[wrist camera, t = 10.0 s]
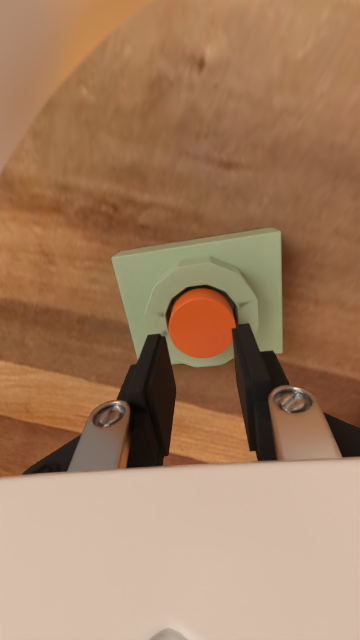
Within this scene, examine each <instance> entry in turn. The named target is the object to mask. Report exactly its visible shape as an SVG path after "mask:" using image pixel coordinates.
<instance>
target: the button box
mask: <svg viewBox="0 0 360 640" xmlns="http://www.w3.org/2000/svg"><path fill="white" fill-rule="evenodd" d="M111 259H112V263H113V267H114V271H115V274H116V278H117V282H118V286H119V290H120V293H121V297H122V301H123V305H124V309H125V313H126V316H127V320H128V324H129V328H130V332H131V336H132V339H133V343H134V347H135V351H136V355H137V358H138V359H139V356H140V354H141V351H142V348H143V346H144V343H145V340H146V338H147V335H151V334H159V333H160V334H161V336H165V337H166V341H167V346H168V350H169V355H170V360H171V364H181V363H183V364H186V365H189V366H192V367H195V368H196V367H207V366H217V365H222V364H225V363H226V362H228V361H229V360H231V359H233V358H234V349H233V341H232V343H231V344H230V346H229V347H228V348H227V349H226V350H225V351H223V352H222V353H220V354H218V355H216V356H214V357H210V358H194V357H191V356H188V355H186V354H184V353H182V352H181V351H180V350H179V349H177V348H176V346H175V345H174V344H173V342H172V341H171V338H170V335H169V321H170V316H171V312H172V309H173V306H174V304H175V302H176V301H177V299H178V298H179V297H180V296H181V295H183V294H184V293H186V292H188V291H190V290H193V289H197V288H207V289H211V290H214V291H216V292H218V293H220V294H221V295H223V296H224V297H225V298H226V299H227V301H228V302H229V304H230V306H231V309H232V312H233V316H234V319H235V324H236V325H237V324H246V323H249V324H250V326H251V329H252V332H253V334H254V337H255V339H256V342H257V345H258V347H259V350H260V352H261V351H271V350H273V351H274V353H275V354H280V353H283V329H282V253H281V231H279V230H277V229H274V228H272V227H270V228H263V229H257V230H251V231H244V232H238V233H232V234H225V235H219V236H213V237H206V238H200V239H194V240H187V241H181V242H175V243H168V244H162V245H155V246H149V247H143V248H136V249H130V250H124V251H120V252H119V253H117V254H116V255H115V256H113V257H112V258H111Z"/></svg>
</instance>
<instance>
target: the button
mask: <svg viewBox="0 0 360 640" xmlns="http://www.w3.org/2000/svg"><path fill="white" fill-rule="evenodd" d="M232 328H236V324H235V319H234V316H233V312H232V309H231V306H230V304H229V302H228V301H227V299H226V298H225V297H224V296H223V295H221V294H220V293H218V292H216V291H214V290H211V289H207V288H197V289H193V290H190V291H188V292H186V293H184V294H183V295H181V296H180V297H179V298H178V299H177V301H176V302H175V304H174V306H173V309H172V312H171V316H170V321H169V335H170V338H171V341H172V342H173V344H174V345H175V346H176V348H177V349H179V350H180V351H181V352H182V353H184V354H186V355H188V356H191V357H194V358H210V357H214V356H216V355H218V354H220V353H222V352H223V351H225V350H226V349H227V348H228V347H229V346H230V344H231V343H232V341H233V339H232Z"/></svg>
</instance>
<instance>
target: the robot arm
mask: <svg viewBox="0 0 360 640" xmlns="http://www.w3.org/2000/svg"><path fill="white" fill-rule="evenodd" d="M232 339H233V349H234V359H235V370H236V380H237V387H238V392H239V398H240V403H241V408H242V413H243V418H244V423H245V428H246V434H247V439H248V444H249V449H250V451H256V455H257V459H258V461H253V462H232V463H213V464H193V465H174V466H162V465H163V458H164V456H168V454H169V447H170V439H171V431H172V422H173V414H174V406H175V398H176V385H175V380H174V375H173V370H172V365H171V360H170V355H169V350H168V346H167V341H166V337H165V336H161V334H160V333H159V334H151V335H147V338H146V340H145V343H144V346H143V348H142V351H141V354H140V356H139V359H138V361H137V364H134V365H131V366H130V368H129V371H128V373H127V375H126V378H125V380H124V383H123V385H122V388H121V390H120V392H119V395H118V397H117V400H112V401H108V402H105V403H103V404H101V405H99V406H98V407H96V408H95V409H94V410H93V411H92V412H91V414H90V415H89V417H88V420H87V422H86V425H85V427H84V430H83V432H82V434H81V435H79V436H78V437H76V438H75V439H73V440H72V441H70V442H68V443H67V444H65V445H64V446H62V447H61V448H59V449H57V450H56V451H54V452H53V453H51V454H50V455H48V456H47V457H45V458H43V459H42V460H40V461H39V462H37V463H36V464H34V465H33V466H31V467H30V468H29V469H27V470H26V471H25V472H24V473H23V474H22V475H18V476H8V477H0V640H360V428H357V427H355V426H353V425H351V424H348V423H346V422H344V421H341V420H339V419H337V418H335V417H332V416H330V415H328V414H326V413H323V411H322V409H321V406H320V404H319V402H318V400H317V398H316V397H315V395H314V394H313V393H312V392H310V391H309V390H307V389H305V388H303V387H299V386H294V385H290V384H289V382H288V380H287V378H286V376H285V374H284V372H283V370H282V368H281V365H280V363H279V361H278V359H277V357H276V355H275V353H274V351H273V350H271V351H261V352H260V350H259V347H258V345H257V342H256V339H255V337H254V334H253V332H252V329H251V326H250V324H249V323H246V324H237V325H236V328H232ZM154 466H156V467H154Z"/></svg>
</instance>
